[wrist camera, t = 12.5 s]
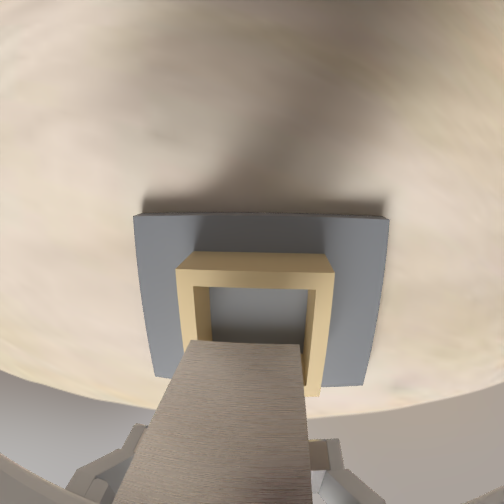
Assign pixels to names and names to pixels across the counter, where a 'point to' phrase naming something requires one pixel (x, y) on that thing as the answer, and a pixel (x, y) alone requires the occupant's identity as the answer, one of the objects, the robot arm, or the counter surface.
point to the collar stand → (264, 286)
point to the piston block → (226, 431)
